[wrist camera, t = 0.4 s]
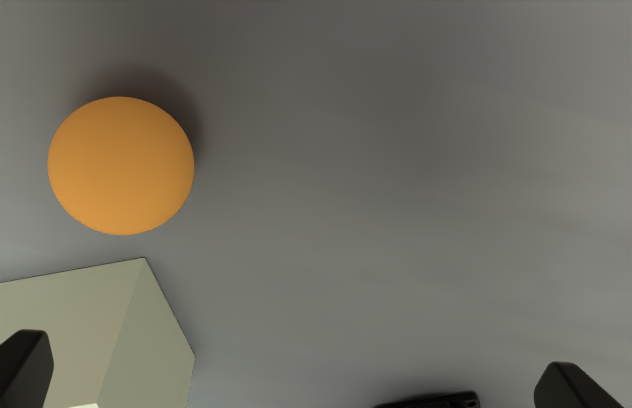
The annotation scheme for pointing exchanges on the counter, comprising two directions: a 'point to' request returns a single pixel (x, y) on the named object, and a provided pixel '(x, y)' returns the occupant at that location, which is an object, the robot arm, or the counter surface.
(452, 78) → the counter surface
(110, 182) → the ball
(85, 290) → the sage green cuboid
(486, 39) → the counter surface
